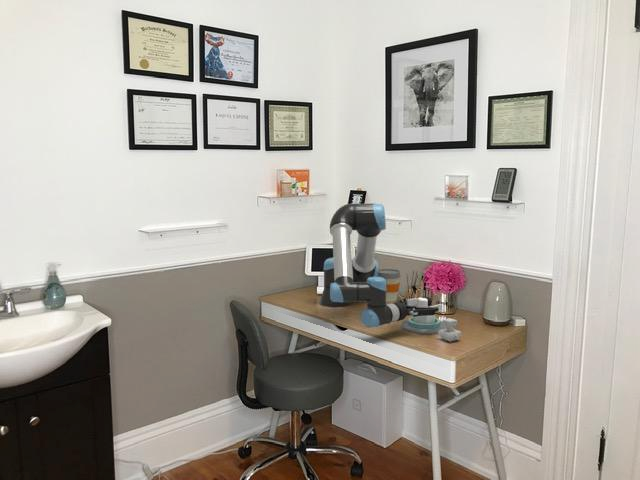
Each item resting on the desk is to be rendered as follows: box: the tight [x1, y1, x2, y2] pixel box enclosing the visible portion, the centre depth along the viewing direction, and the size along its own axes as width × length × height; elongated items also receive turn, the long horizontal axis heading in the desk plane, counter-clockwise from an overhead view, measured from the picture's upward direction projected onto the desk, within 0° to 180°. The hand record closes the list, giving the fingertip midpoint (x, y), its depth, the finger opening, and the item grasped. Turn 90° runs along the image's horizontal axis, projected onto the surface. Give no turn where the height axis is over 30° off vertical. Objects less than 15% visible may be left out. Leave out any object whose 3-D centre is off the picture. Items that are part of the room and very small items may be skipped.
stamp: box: [437, 317, 463, 342], centre depth 215 cm, size 9×7×8 cm
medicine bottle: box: [412, 296, 437, 324], centre depth 231 cm, size 7×7×12 cm
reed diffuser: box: [406, 270, 419, 309], centre depth 252 cm, size 10×7×20 cm
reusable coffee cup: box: [377, 268, 401, 303], centre depth 279 cm, size 13×13×15 cm
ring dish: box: [400, 316, 447, 335], centre depth 232 cm, size 20×20×3 cm
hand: (429, 304), depth 233 cm, fingers open, 13 cm apart
